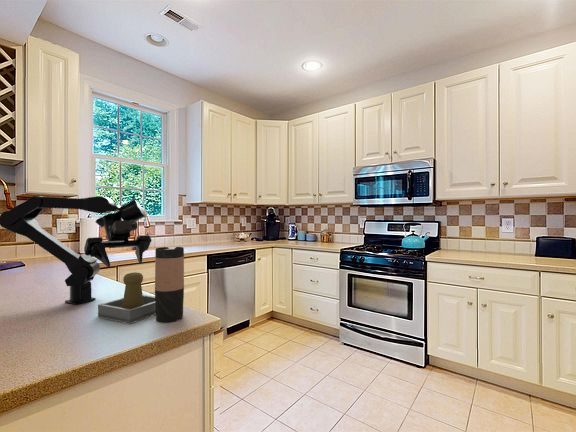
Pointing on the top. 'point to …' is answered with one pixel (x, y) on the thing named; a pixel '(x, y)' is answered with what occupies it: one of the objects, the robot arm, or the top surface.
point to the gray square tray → (127, 310)
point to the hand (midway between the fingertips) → (125, 264)
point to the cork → (133, 290)
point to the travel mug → (169, 284)
